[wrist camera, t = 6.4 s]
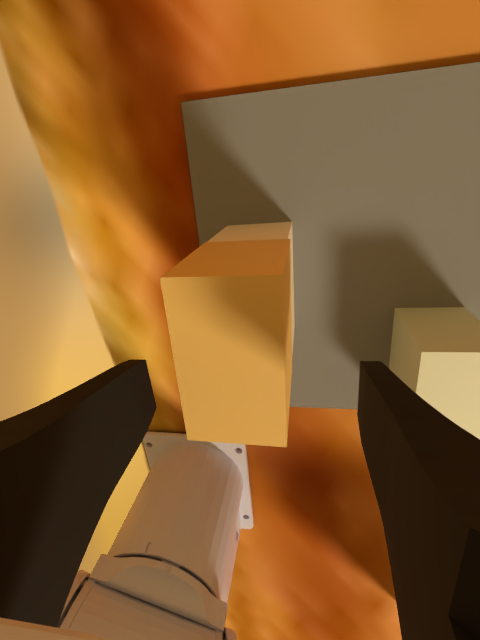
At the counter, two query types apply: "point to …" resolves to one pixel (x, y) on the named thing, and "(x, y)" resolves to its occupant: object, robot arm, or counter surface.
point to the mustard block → (233, 340)
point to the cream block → (261, 233)
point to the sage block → (440, 360)
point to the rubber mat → (350, 205)
